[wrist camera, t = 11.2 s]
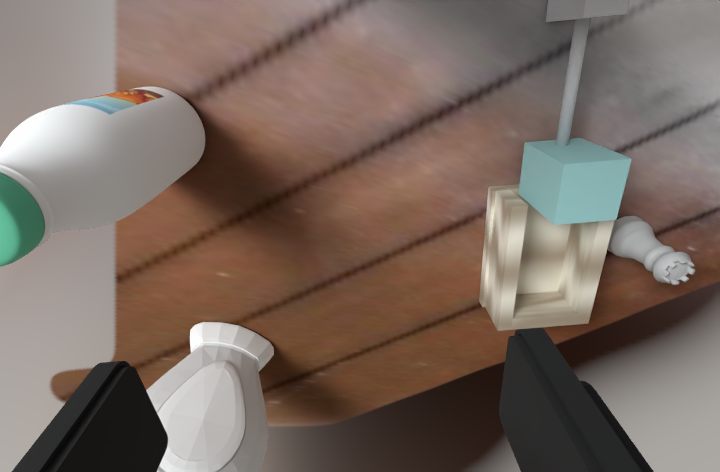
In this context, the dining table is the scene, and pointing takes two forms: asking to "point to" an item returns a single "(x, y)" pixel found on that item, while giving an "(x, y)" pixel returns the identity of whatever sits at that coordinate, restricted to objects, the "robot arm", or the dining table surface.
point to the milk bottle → (92, 163)
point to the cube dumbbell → (574, 141)
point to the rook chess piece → (649, 250)
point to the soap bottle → (215, 402)
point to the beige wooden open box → (538, 264)
